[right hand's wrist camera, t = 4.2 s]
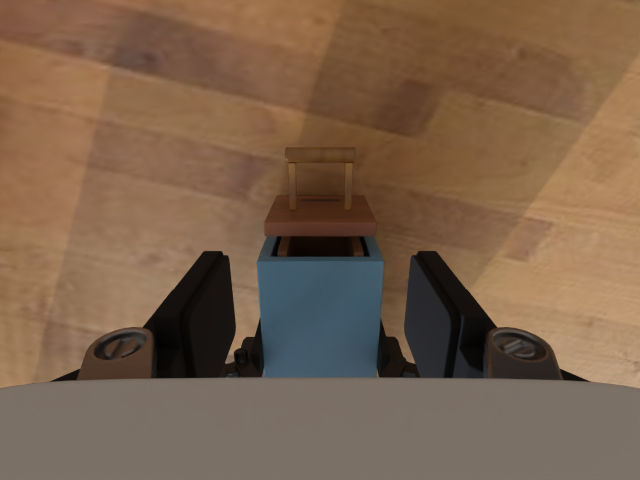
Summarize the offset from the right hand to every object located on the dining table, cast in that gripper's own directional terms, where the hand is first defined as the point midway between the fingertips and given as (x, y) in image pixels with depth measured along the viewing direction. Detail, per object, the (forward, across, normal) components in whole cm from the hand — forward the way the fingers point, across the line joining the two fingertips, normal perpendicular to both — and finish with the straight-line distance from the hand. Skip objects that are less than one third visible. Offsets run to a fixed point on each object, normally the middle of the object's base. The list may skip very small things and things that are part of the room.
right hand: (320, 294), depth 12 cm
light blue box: (+26, 0, +13) cm, 29 cm away
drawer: (+25, 0, +6) cm, 26 cm away
